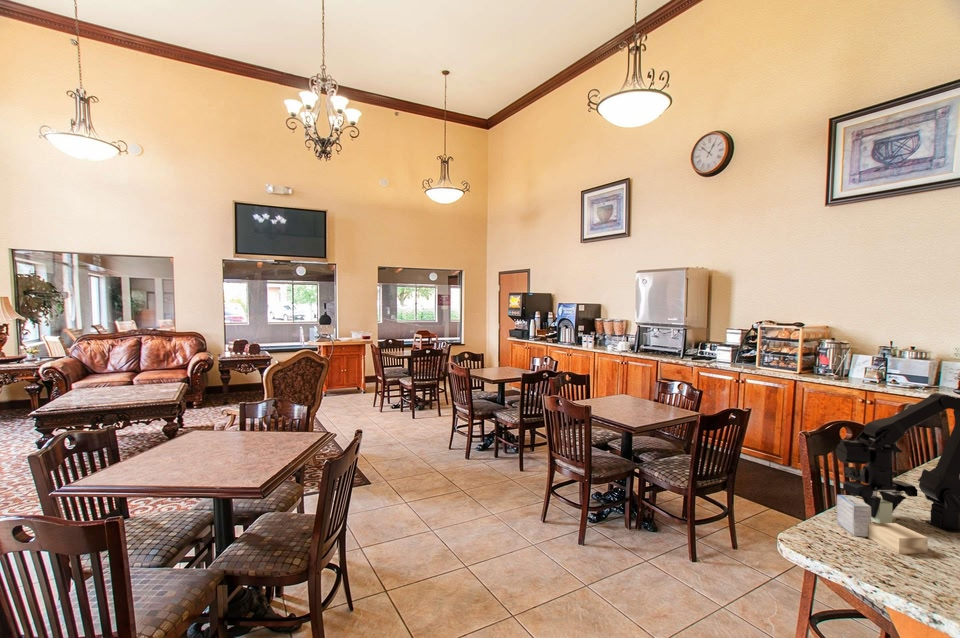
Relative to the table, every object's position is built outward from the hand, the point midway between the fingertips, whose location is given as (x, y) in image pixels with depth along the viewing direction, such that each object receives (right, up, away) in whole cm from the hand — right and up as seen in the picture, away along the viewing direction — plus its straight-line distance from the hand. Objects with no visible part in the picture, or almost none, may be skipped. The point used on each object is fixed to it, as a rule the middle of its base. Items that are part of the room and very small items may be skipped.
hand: (879, 517), depth 130 cm
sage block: (0, -1, 0) cm, 1 cm away
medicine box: (-14, -1, -7) cm, 15 cm away
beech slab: (-9, -1, -15) cm, 17 cm away
